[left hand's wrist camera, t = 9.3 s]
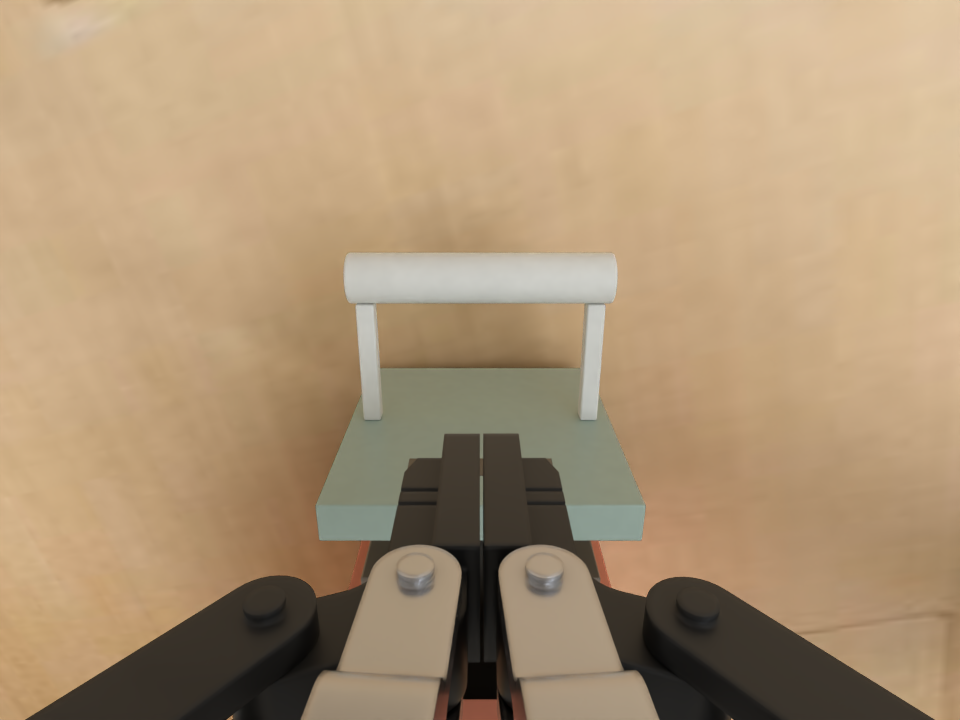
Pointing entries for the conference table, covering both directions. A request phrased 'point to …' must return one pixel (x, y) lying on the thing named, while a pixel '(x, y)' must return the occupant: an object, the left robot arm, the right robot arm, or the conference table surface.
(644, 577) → the conference table surface
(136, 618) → the conference table surface
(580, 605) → the left robot arm
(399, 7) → the conference table surface
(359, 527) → the drawer
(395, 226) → the conference table surface
